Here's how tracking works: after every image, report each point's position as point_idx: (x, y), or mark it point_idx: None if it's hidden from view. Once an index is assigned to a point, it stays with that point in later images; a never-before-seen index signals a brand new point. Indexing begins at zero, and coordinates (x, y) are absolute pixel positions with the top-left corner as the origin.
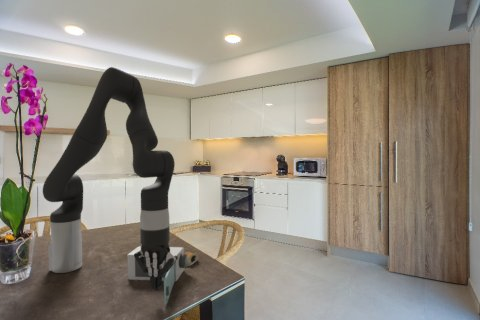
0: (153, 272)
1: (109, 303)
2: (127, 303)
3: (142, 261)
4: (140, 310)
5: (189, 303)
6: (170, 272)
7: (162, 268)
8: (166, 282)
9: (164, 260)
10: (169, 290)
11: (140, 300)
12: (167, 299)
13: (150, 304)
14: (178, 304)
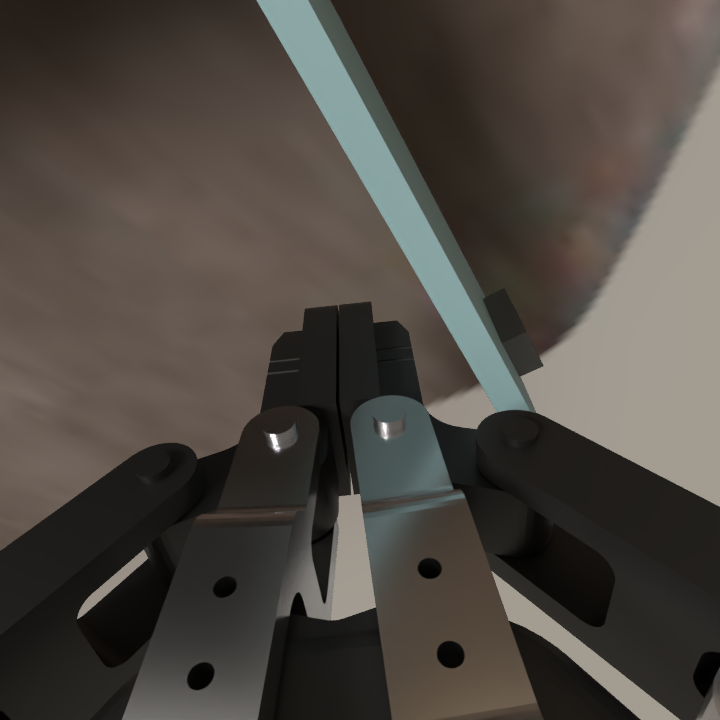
0: (333, 519)
1: (11, 421)
2: (129, 369)
3: (85, 713)
4: None
5: (668, 131)
6: (362, 88)
7: (567, 625)
8: (524, 391)
9: (483, 555)
10: (407, 151)
11: (178, 294)
12: (460, 250)
13: (314, 304)
14: (562, 197)
